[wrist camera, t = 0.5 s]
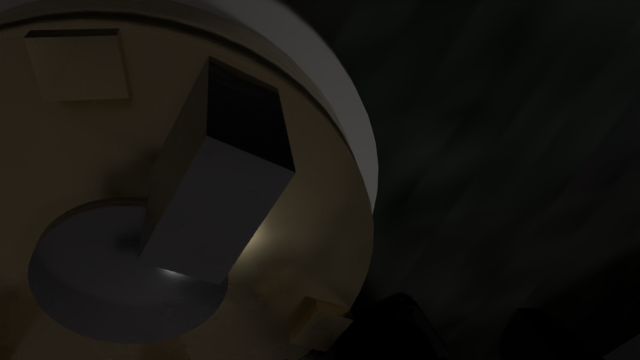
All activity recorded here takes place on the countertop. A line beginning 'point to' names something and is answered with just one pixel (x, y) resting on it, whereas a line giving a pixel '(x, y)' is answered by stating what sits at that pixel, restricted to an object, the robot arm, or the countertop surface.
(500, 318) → the countertop surface
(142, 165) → the shallow round tray
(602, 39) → the countertop surface
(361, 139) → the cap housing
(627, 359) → the dark grey curved piece
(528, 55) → the countertop surface
